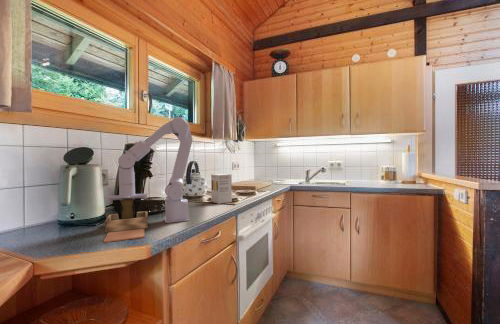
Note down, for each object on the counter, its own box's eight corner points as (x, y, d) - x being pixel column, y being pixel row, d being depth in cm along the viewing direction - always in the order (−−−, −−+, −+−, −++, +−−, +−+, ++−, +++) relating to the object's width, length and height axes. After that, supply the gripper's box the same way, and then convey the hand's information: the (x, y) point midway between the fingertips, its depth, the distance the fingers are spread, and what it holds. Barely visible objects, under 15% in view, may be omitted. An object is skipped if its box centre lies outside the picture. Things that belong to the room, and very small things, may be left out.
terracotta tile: (144, 229, 95) (144, 228, 95) (144, 237, 85) (144, 236, 85) (108, 234, 90) (108, 232, 90) (103, 242, 81) (103, 241, 81)
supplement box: (211, 201, 153) (210, 174, 153) (224, 200, 158) (223, 173, 158) (218, 204, 145) (218, 174, 145) (232, 202, 151) (231, 174, 150)
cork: (129, 228, 97) (129, 200, 97) (116, 227, 98) (115, 199, 98) (139, 224, 103) (138, 197, 103) (126, 223, 104) (125, 197, 104)
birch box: (147, 220, 109) (147, 211, 109) (147, 227, 98) (147, 217, 98) (109, 224, 104) (109, 214, 104) (105, 232, 92) (104, 221, 92)
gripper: (104, 186, 94) (105, 222, 94) (146, 184, 99) (147, 218, 100) (107, 184, 100) (108, 218, 101) (146, 182, 106) (147, 214, 106)
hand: (127, 217), depth 101 cm, fingers closed on cork, 5 cm apart
